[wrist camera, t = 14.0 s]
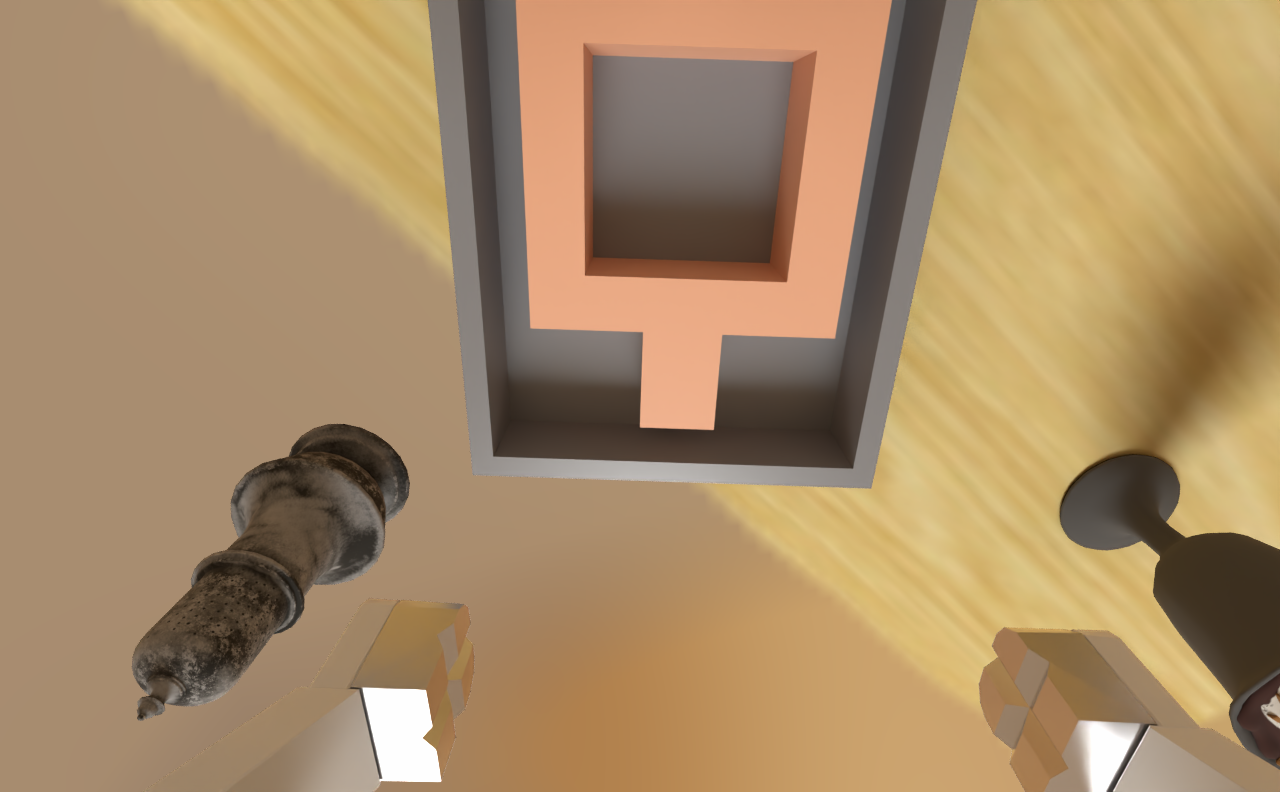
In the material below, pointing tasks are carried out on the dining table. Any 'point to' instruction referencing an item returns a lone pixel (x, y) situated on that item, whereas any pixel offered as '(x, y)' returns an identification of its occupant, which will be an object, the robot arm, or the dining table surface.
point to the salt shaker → (273, 562)
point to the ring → (678, 289)
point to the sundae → (1195, 585)
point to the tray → (685, 254)
